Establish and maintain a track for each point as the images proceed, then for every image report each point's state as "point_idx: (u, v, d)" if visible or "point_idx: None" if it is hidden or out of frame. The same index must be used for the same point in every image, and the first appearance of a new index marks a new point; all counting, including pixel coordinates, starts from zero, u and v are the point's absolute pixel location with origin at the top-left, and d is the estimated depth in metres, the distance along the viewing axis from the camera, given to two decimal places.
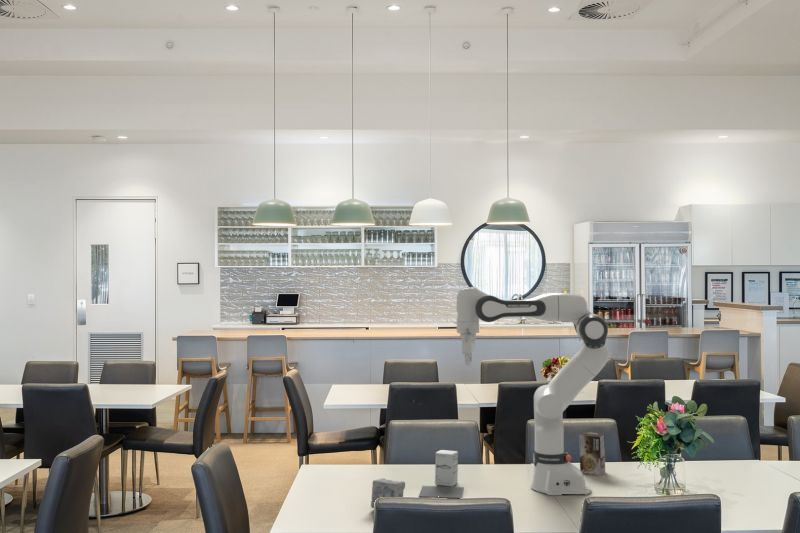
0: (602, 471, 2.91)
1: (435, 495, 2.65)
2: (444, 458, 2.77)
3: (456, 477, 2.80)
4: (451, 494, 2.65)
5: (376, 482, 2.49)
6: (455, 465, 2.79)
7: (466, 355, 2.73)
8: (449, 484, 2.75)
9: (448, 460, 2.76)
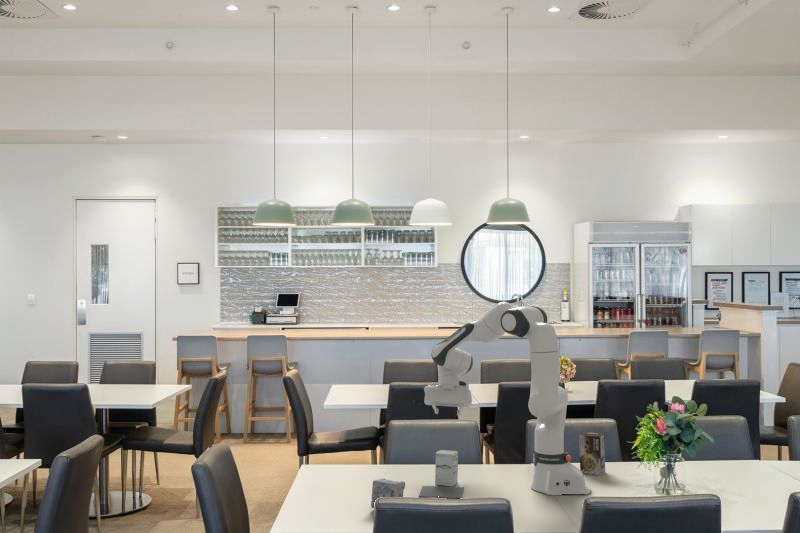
0: (602, 471, 2.91)
1: (435, 495, 2.65)
2: (444, 458, 2.77)
3: (456, 477, 2.80)
4: (451, 494, 2.65)
5: (376, 482, 2.49)
6: (456, 465, 2.79)
7: (432, 405, 3.00)
8: (449, 484, 2.75)
9: (448, 460, 2.76)
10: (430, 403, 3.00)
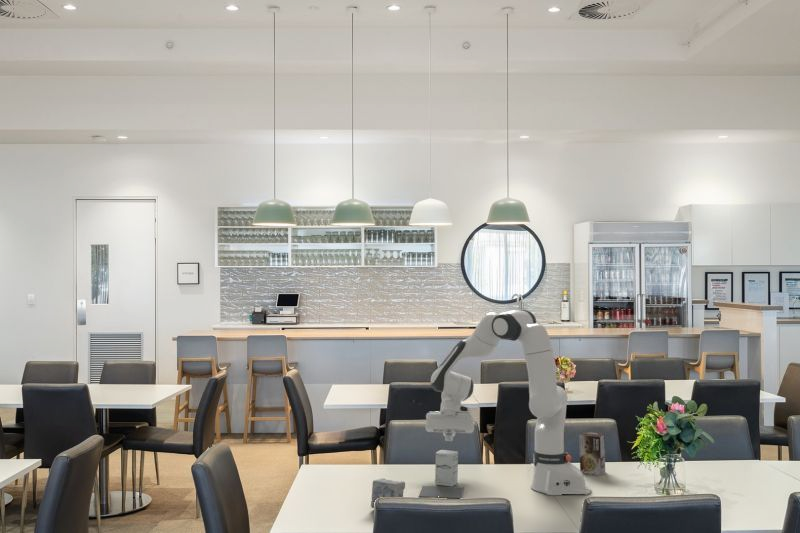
0: (602, 471, 2.91)
1: (435, 495, 2.65)
2: (444, 458, 2.77)
3: (456, 477, 2.80)
4: (451, 494, 2.65)
5: (376, 482, 2.49)
6: (456, 465, 2.79)
7: (443, 432, 2.96)
8: (449, 484, 2.75)
9: (448, 460, 2.76)
10: (431, 430, 2.97)
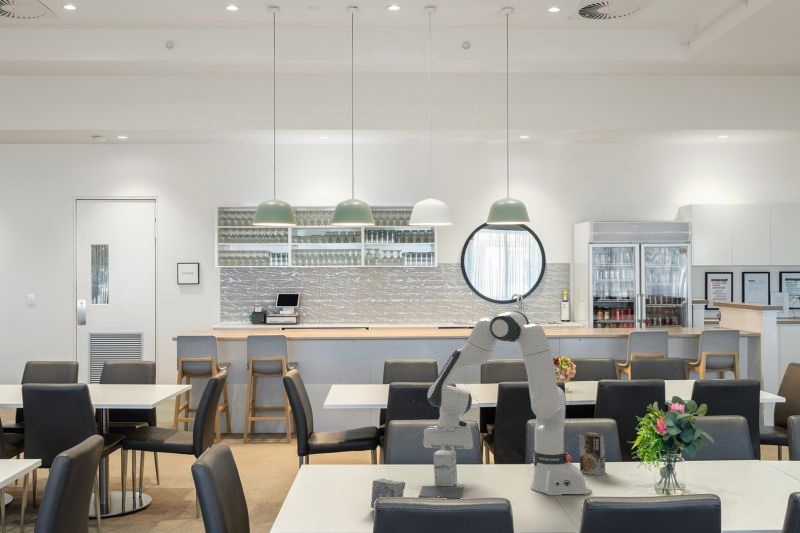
0: (602, 471, 2.91)
1: (435, 495, 2.65)
2: (442, 459, 2.76)
3: (456, 476, 2.80)
4: (451, 494, 2.65)
5: (376, 482, 2.49)
6: (454, 464, 2.79)
7: (441, 448, 2.88)
8: (449, 484, 2.75)
9: (446, 460, 2.76)
10: (429, 446, 2.89)
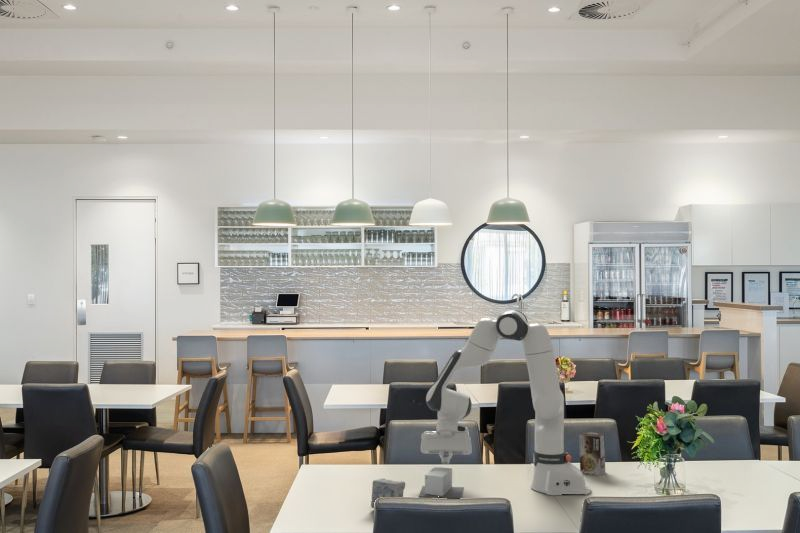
0: (602, 471, 2.91)
1: (435, 495, 2.65)
2: None
3: (450, 473, 2.73)
4: (451, 494, 2.65)
5: (376, 482, 2.49)
6: (447, 480, 2.68)
7: None
8: None
9: None
10: (427, 451, 2.80)
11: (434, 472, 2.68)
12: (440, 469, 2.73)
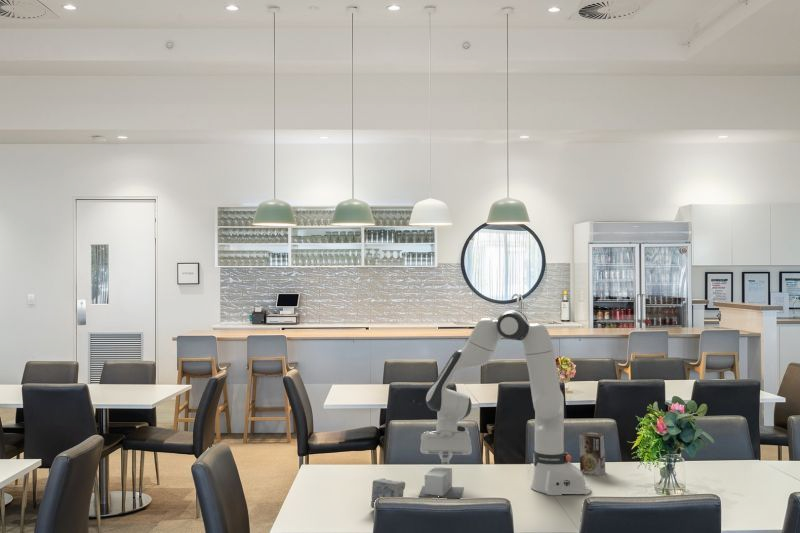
0: (602, 471, 2.91)
1: (435, 495, 2.65)
2: None
3: (450, 473, 2.73)
4: (451, 494, 2.65)
5: (376, 482, 2.49)
6: (446, 480, 2.68)
7: (439, 454, 2.78)
8: None
9: None
10: (427, 452, 2.79)
11: (434, 472, 2.68)
12: (440, 469, 2.73)
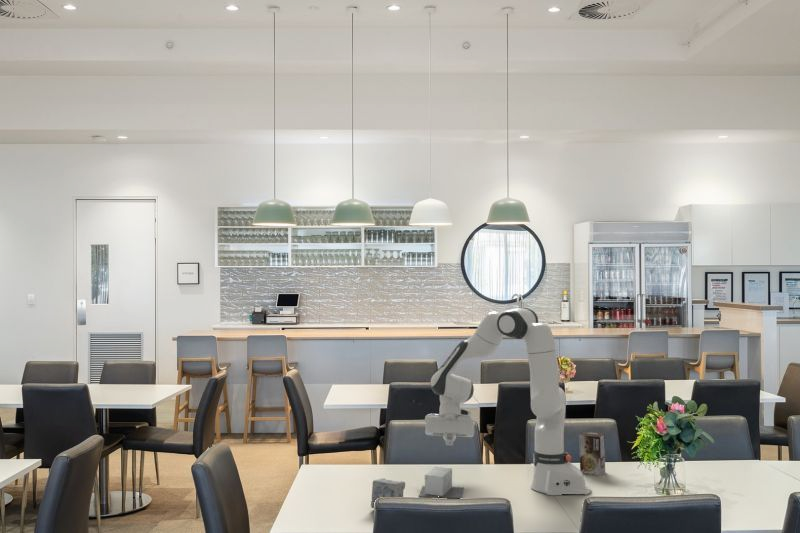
0: (602, 471, 2.91)
1: (435, 495, 2.65)
2: None
3: (450, 473, 2.73)
4: (451, 494, 2.65)
5: (376, 482, 2.49)
6: (446, 480, 2.68)
7: (443, 436, 2.90)
8: None
9: None
10: (431, 433, 2.91)
11: (434, 472, 2.68)
12: (440, 469, 2.73)
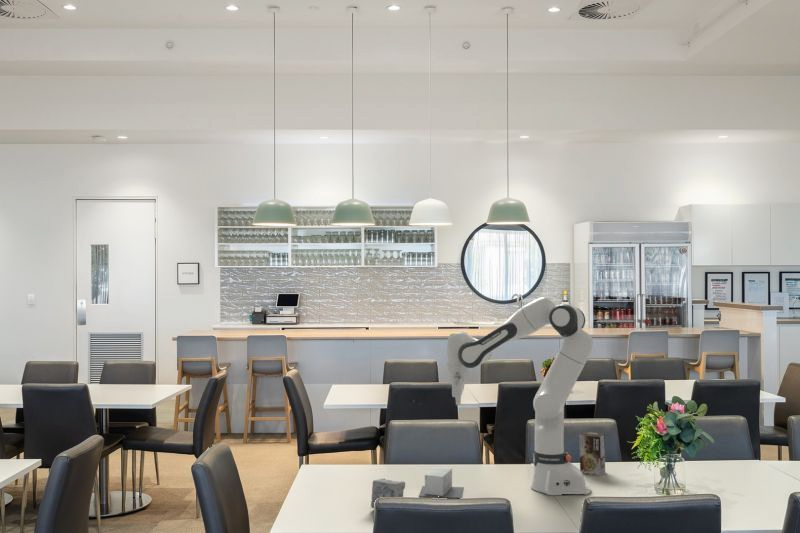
0: (602, 471, 2.91)
1: (435, 495, 2.65)
2: None
3: (450, 473, 2.73)
4: (451, 494, 2.65)
5: (376, 482, 2.49)
6: (446, 480, 2.68)
7: None
8: None
9: None
10: None
11: (434, 472, 2.68)
12: (440, 469, 2.73)
